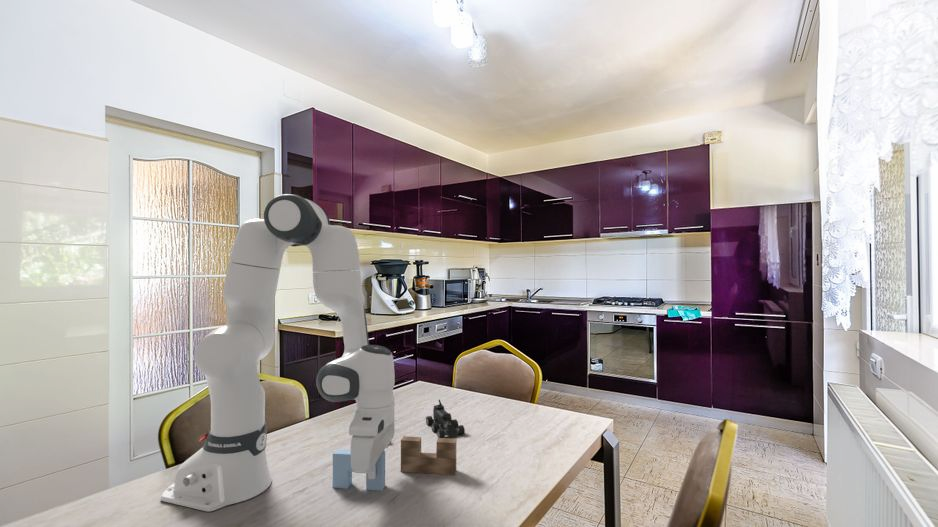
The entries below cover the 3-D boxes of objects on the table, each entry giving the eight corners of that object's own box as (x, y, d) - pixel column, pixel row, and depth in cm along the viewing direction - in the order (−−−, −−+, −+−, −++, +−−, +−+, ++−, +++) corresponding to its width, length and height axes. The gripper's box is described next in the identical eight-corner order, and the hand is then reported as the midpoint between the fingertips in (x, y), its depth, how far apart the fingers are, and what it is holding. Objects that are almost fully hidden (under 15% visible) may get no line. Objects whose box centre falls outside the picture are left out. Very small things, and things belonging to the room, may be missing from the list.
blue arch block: (332, 487, 95) (332, 453, 95) (337, 482, 97) (337, 448, 98) (381, 490, 94) (381, 456, 94) (385, 484, 96) (385, 451, 96)
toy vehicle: (448, 421, 138) (448, 396, 139) (465, 436, 125) (464, 408, 125) (425, 425, 135) (425, 399, 136) (440, 441, 121) (440, 412, 122)
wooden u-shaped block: (400, 471, 102) (400, 440, 103) (403, 467, 105) (403, 436, 105) (455, 474, 101) (455, 442, 101) (456, 469, 103) (456, 438, 104)
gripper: (377, 400, 106) (376, 452, 106) (345, 430, 86) (344, 496, 86) (400, 400, 105) (400, 453, 105) (374, 432, 85) (373, 498, 85)
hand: (375, 473), depth 95 cm, fingers closed on blue arch block, 2 cm apart
